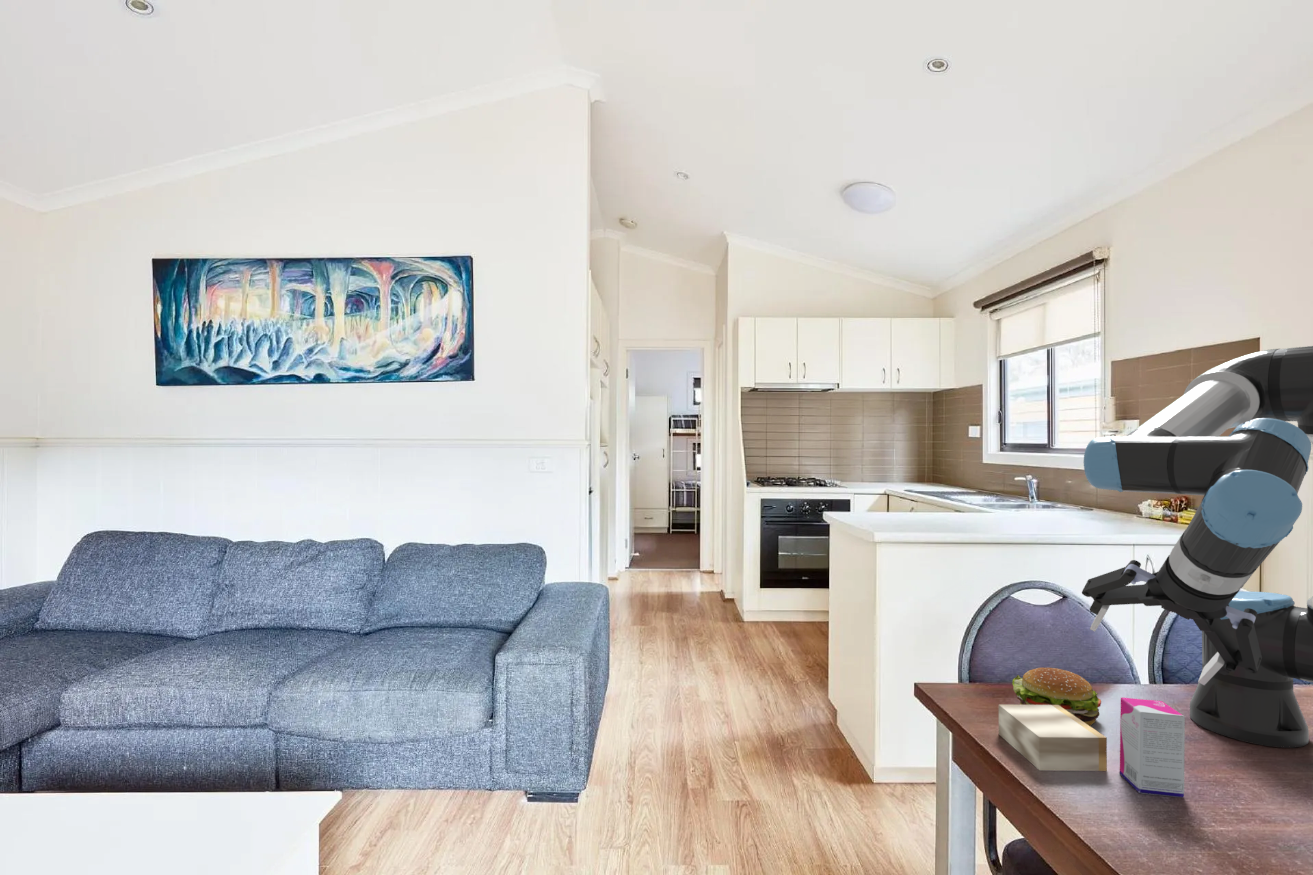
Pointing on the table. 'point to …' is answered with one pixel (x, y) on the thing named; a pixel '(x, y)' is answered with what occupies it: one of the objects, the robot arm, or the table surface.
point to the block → (1053, 738)
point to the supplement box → (1152, 747)
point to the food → (1058, 692)
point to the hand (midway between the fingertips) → (1147, 648)
